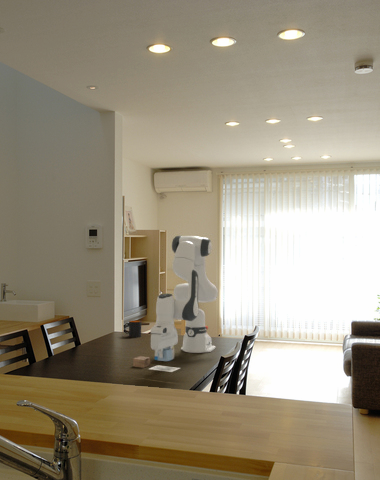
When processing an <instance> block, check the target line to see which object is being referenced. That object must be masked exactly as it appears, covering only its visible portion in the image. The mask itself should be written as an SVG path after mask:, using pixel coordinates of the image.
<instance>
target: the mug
mask: <svg viewBox="0 0 380 480" xmlns="http://www.w3.org/2000/svg"><path fill="white" fill-rule="evenodd" d="M127 325H128V332H127V331H126V326H127ZM123 327H124V328H123V329H124V333H125V334H126V335H127V334H128V337H129V338H141V337H142V320H135V319H134V320H129V321H128V322H126V323H125V324H124V326H123Z"/></svg>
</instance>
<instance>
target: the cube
mask: <svg viewBox="0 0 380 480" xmlns="http://www.w3.org/2000/svg"><path fill="white" fill-rule="evenodd" d="M162 352H163V354H164V357H163V358H159V353H158V360H157V361H161V362H162V361H163V362H170V361H172V360H173V359H172V349H167V348H163V351H162ZM169 360H170V361H169Z"/></svg>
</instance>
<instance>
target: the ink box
mask: <svg viewBox="0 0 380 480" xmlns="http://www.w3.org/2000/svg"><path fill="white" fill-rule="evenodd" d="M166 348H167V347H166ZM174 359H175V345H172V360H174ZM154 361H159V360H158V350H154ZM170 361H171V360H169V361H168V362H170Z"/></svg>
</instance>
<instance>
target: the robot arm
mask: <svg viewBox="0 0 380 480" xmlns="http://www.w3.org/2000/svg"><path fill="white" fill-rule="evenodd" d="M212 245H213V244H212V242H211V240H210V239H209V238H208V237H202V236H198V235H177V236H175V237H173V238H172V242H171V248H172V252H173V253H174V256H173V259H172V260H173V261H172V265H171V266H172V267H171V269H172V271H173V273H174V275H175V276H176V277H178V278H180V279H182V280H183V281H186V283H179V284H176V286H174V289H173V294H172V293H162V294H161V293H160V294H159V295H158V296H157V299H156V304H155V314H156V320H155V324H154V326H152V327H150V348H151V350H152V351H153V350H154V351H155V350H158V353H159V358H163V357H164V354H163V352H162V351H163V348H166V347H167V349H172V345H174V346H175V345H177V344H178V342H179V337H178V330H177V328H176V326H175V320H182V321H185V327H184V328H185V331H184V332H185V333H184V335H183V338H182V346H181V348H180V350H182V352H186V353H195V354H197V353H198V354H199V353H201V354H202V353H210V352H212V351H214V350H215V349H216V348H217V347H216V346H215V345H213V344H212V343H213V342H212V341H213V340H212V337H211V336H210V335H209V334H208V332H207V330H208V329H209V326H208V325H206V314H205V311H204V310H203V309H201V308H199V307H200V306H199V303H210V302H215V301H216V300H217V298H218V296H219V291H218V288H217V286H216V285H215V284H214V283H212V282H211V281H210V280H209V278H208V276H207V273H206V257H208V256H209V255H210V254H211V251H212V250H213V249H212Z"/></svg>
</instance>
